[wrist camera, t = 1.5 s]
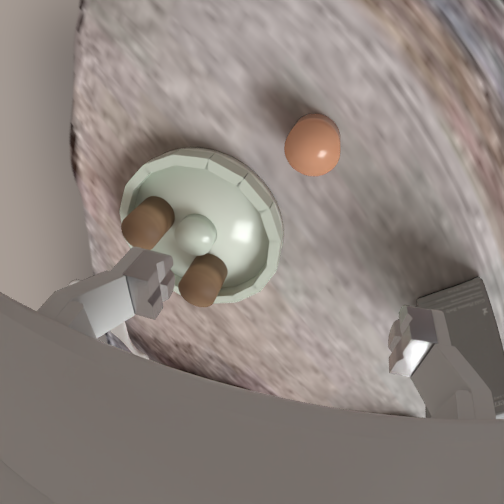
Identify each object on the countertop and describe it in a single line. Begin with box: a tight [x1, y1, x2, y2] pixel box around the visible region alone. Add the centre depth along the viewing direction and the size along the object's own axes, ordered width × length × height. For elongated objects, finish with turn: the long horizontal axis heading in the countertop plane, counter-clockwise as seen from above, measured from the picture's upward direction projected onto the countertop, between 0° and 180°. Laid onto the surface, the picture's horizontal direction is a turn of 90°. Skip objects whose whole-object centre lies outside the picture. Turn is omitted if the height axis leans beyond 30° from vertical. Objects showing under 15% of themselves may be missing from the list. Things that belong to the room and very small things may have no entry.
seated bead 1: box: [121, 196, 175, 250], centre depth 31 cm, size 4×4×4 cm
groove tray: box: [120, 147, 284, 304], centre depth 32 cm, size 17×17×2 cm
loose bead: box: [284, 113, 340, 176], centre depth 23 cm, size 4×4×4 cm
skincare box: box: [417, 277, 504, 419], centre depth 24 cm, size 8×7×16 cm
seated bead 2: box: [178, 253, 228, 307], centre depth 33 cm, size 4×4×4 cm
